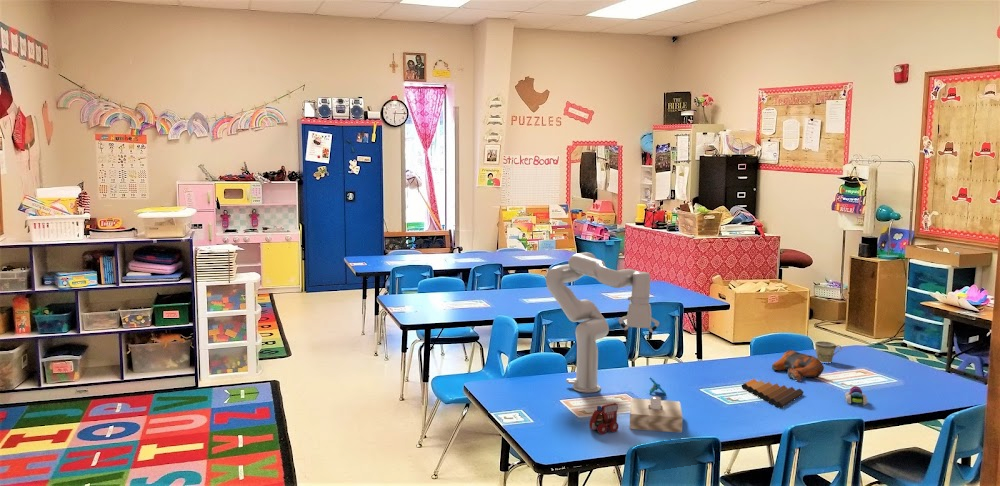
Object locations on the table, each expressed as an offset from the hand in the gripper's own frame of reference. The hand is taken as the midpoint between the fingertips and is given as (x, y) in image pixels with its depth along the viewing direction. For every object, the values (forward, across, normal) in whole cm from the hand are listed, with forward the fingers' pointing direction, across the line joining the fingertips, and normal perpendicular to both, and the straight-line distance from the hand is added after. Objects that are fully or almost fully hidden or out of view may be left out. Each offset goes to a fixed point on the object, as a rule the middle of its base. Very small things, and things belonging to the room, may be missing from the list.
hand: (637, 339), depth 332 cm
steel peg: (+27, +9, -25) cm, 38 cm away
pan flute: (+27, +58, +23) cm, 68 cm away
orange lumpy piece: (+27, +76, +63) cm, 103 cm away
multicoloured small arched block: (+26, +95, +22) cm, 101 cm away
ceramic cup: (+27, +97, +90) cm, 135 cm away
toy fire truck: (+28, -11, -39) cm, 49 cm away
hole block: (+27, +9, -25) cm, 38 cm away
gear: (+28, +10, +13) cm, 32 cm away
